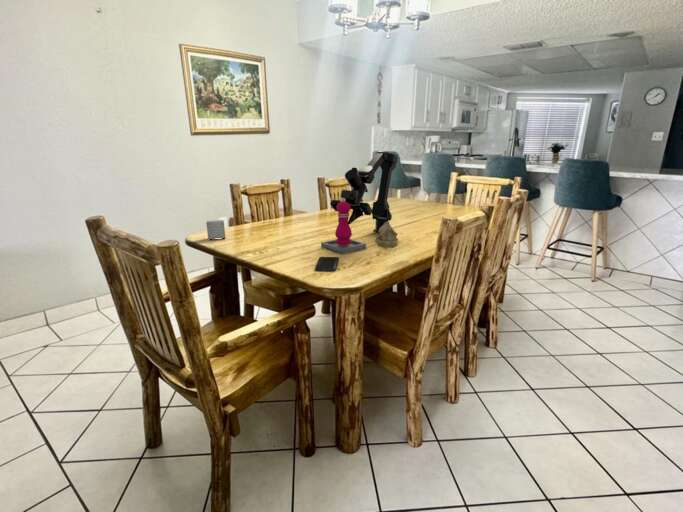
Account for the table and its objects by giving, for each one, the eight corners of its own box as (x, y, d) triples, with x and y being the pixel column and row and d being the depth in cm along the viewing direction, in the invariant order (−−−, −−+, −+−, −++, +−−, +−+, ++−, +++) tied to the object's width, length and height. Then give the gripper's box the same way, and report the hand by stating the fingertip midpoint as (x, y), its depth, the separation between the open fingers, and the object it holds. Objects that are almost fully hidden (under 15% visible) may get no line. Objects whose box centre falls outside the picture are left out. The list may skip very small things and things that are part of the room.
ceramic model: (373, 239, 174) (373, 218, 171) (396, 238, 174) (397, 218, 171) (377, 247, 160) (378, 225, 157) (402, 246, 161) (403, 224, 158)
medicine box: (225, 237, 177) (223, 219, 174) (225, 239, 173) (223, 221, 170) (208, 238, 175) (206, 220, 172) (208, 240, 171) (206, 222, 168)
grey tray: (321, 247, 160) (321, 242, 159) (345, 241, 168) (345, 237, 168) (340, 254, 149) (340, 249, 149) (365, 248, 158) (366, 243, 157)
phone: (339, 257, 144) (335, 269, 129) (339, 259, 144) (335, 272, 130) (319, 256, 144) (313, 269, 130) (319, 259, 145) (314, 272, 130)
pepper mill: (353, 245, 156) (353, 199, 149) (336, 246, 154) (336, 199, 148) (349, 240, 162) (350, 196, 156) (334, 241, 161) (333, 196, 155)
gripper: (332, 181, 160) (318, 210, 154) (369, 183, 150) (355, 214, 145) (342, 196, 168) (328, 224, 163) (377, 200, 159) (365, 229, 153)
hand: (343, 223), depth 156 cm, fingers closed on pepper mill, 5 cm apart
